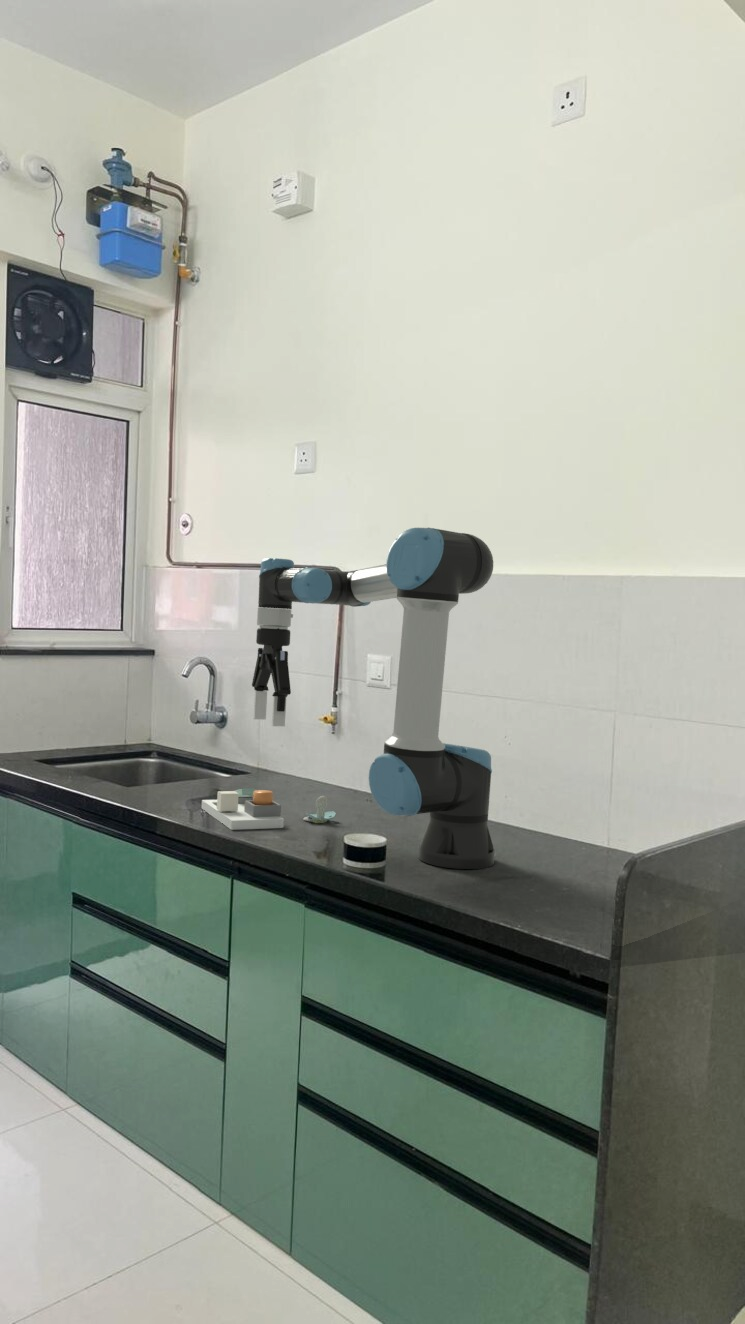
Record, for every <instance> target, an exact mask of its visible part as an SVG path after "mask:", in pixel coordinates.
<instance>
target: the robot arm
mask: <svg viewBox="0 0 745 1324" xmlns="http://www.w3.org/2000/svg"><path fill="white" fill-rule="evenodd" d="M491 551H492V550H491V549H490V548H489V546H488V545H487V543H485V542H484V540H482V539H481V538H479V537H478V536H475V535H473V534H469V533H465V532H464V533H463V532H456V531H450V530H446V529H439V528H434V527H411V528H409V529H406V530H404V531H403V532H402V533H400V534H399V535H398V538H395V540H394V541H393V543H392V544H391V546H390V548H389V550H388V554H387V556H386V564H384V563H383V564H379V565H375V566H374V565H373V566H370V567H366V568H360V569H356V570H351V571H349V570H348V571H340V570H329V569H323V568H318V567H312V566H306V567H295V562H294V561H293V560H292V559H288V558H275V557H274V558H272V557H268V558H267V557H265V558H263V559H262V560H261V562H260V572H259V575H258V578H259V579H258V583H259V584H258V585H259V586H258V605H257V606H258V607H257V619H256V625H257V626H259V627H258V628H257V629H256V638H255V639H256V640H255V641H256V644H257V645H260V646H263V647H259V648H257V656H256V657H257V659H256V663H255V668H254V673H253V678H252V683H251V686H252V688H253V689H254V702H253V703H254V705H253V706H254V707H253V720H267V704H268V691H269V686H268V683H269V680H270V677H271V678H272V683H273V688H274V689H273V690H274V692H273V693H272V695H271V696H272V697H273V699H272V700H273V701H272V721H271V726H272V727H285V726H286V711H287V709H286V708H287V697H288V695H291V693H292V692H291V691H292V689H291V680H290V672H289V671H290V670H289V662H288V661H289V653H288V650H283V647H289V646H290V645H291V630H290V629H288V628H290V627H291V622H292V619H293V617H294V614H292V609H293V603H305V604H317V605H318V604H319V605H321V604H322V605H337V606H338V605H339V606H350V607H365V606H366V607H367V606H368V605H370V604H371V602H377V601H379V602H380V601H384V600H390V599H396V600H397V601H398V602H399V603H400V605H401V606H402V607H403V615H402V626H401V628H402V629H401V638H400V649H399V650H400V651H399V660H398V661H399V662H398V671H397V672H398V674H397V682H396V683H397V687H396V694H395V695H396V699H395V709H394V721H393V730H392V731H393V732H392V734H391V735H390V736H389V737H388V738H386V739H385V740H384V746H383V753H382V754H380V755H378V756H376V758H375V759H374V760H373V762H372V763H371V764H370V767H369V772H368V785H369V790H370V794H371V795H372V798H373V799H374V800H375V802H376V804H377V805H378V807H379V808H380V809H381V810H382V811H383V812H385V813H387V814H388V815H392V816H398V817H399V816H406V817H411V816H412V817H413V816H415V815H420V814H422V815H423V814H428V813H429V819H428V823H427V825H426V828H425V831H424V833H423V836H422V838H421V840H420V844H419V846H418V847H419V848H418V859H419V860H420V861H422V862H423V863H426V864H429V865H433V866H437V867H441V868H449V869H458V870H477V869H485V868H489V867H491V866H493V865H494V864H495V849H494V844H493V840H492V836H491V833H490V828H489V825H488V824H489V823H488V821H489V809H490V796H491V795H490V794H491V779H492V772H493V769H492V755H491V754H490V753H489V751H487V750H485V749H482V748H481V749H480V748H475V747H469V746H465V745H464V746H463V745H457V744H451V743H444V742H442V741H441V739H440V738H439V731H440V722H441V720H440V719H441V708H442V698H443V687H444V686H443V685H444V677H445V676H444V674H445V665H446V663H445V662H446V654H447V653H446V651H447V641H448V632H449V631H448V628H449V617H450V612H451V610H453V608H455V607H456V606H457V605H458V604H459V598H460V594H464V595H465V594H471V593H472V594H473V593H475V592H478V591H479V590H481V589H482V588H484V587H485V585H486V584H488V582H489V581H490V579H491V577H492V574H493V571H494V557H493V553H492V552H491Z"/></svg>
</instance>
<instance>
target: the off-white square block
mask: <svg viewBox="0 0 745 1324" xmlns="http://www.w3.org/2000/svg"><path fill="white" fill-rule="evenodd" d="M238 796H239V793H237V792H235V790H229V791H228V790H226V791H225V790H222V791H217V798H216V800H217V809H218V810H219V811H220V812H222V811H238Z"/></svg>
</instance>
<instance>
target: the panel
mask: <svg viewBox="0 0 745 1324" xmlns="http://www.w3.org/2000/svg"><path fill="white" fill-rule="evenodd" d="M201 809H202V810H203V811H204V810H205V811H204V812H206V813H208V814H209V815H210V816H212V817H213V818H214V819H215V820H217V821H218V822H220V823H221V824H222V823H223V824H222V825H224V826H225V827H227V828H228V829H230V830H231V831H233V830H234V831H237V830H256V829H257V830H259V829H283V828H285V827H284V822H285V818H283V817H282V813H281V812H282V804H280V803H278V802H276V801H274V800H273V805H254V804H253V796H244V797H238V811H222V812H220V811H219V810H218V809H217V799H202V800H201Z"/></svg>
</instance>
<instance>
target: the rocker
mask: <svg viewBox="0 0 745 1324" xmlns="http://www.w3.org/2000/svg"><path fill="white" fill-rule="evenodd" d="M256 790H257V788H256V787H255V788H251V787H250V788H240V789H236V790H234V791H235V792H237V793H239V796H238V797H253V795H254V791H256Z"/></svg>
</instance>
